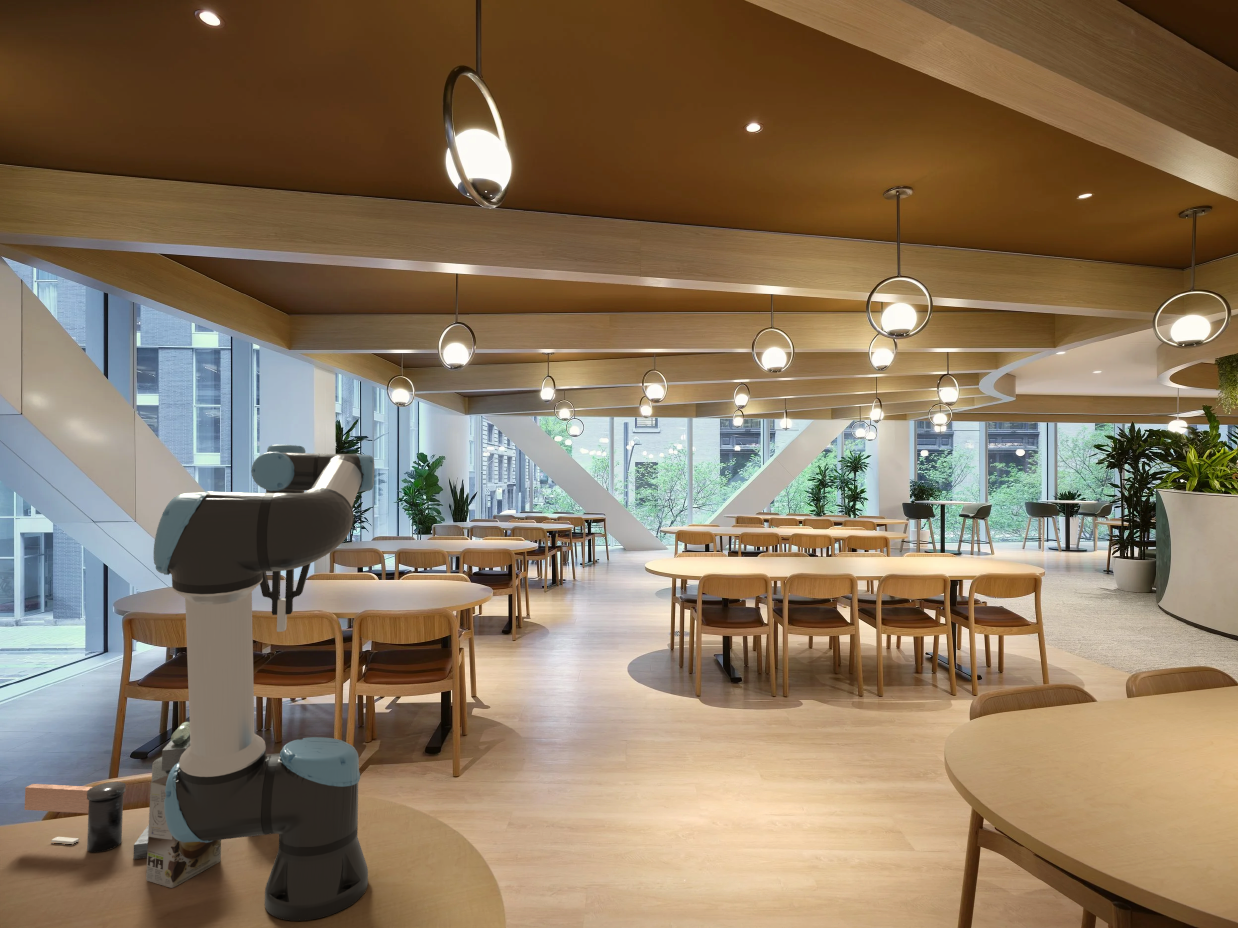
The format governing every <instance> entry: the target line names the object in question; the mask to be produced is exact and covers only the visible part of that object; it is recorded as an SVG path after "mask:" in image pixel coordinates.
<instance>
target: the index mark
mask: <svg viewBox="0 0 1238 928" xmlns="http://www.w3.org/2000/svg"><path fill="white" fill-rule="evenodd" d="M50 841H51V842H56V843H65V844H74V843H76V842H78V841H79V842H80V838H77V837H67V836H56V837H54V838H52V839H51V840H50ZM51 842H50V843H51ZM79 842H78V843H79ZM65 844H64V845H65ZM76 844H77V843H76ZM74 845H75V844H74Z"/></svg>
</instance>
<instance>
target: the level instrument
mask: <svg viewBox="0 0 1238 928" xmlns="http://www.w3.org/2000/svg"><path fill="white" fill-rule="evenodd" d="M190 746H191V745H190V721H184V722H182V723H181V724H180V725H179V726H178V727H177V729H175V731H173V733H172V734H171V737H170V741H169V742H168V743H167V744H166V745H165V746H164V747H163V749H161V750H162V751H161V756H160V757H158V758H157V759H155V760H154V761H153V762H152V766H151V781H154V780H157V779H159V778H162V777H165V776H167V775H169V773H170V771H171V769H172V768H173V767H174V765H176V764H177V763H178V762H179V760H180V757H181V755H182V754H183V752H184V751H185V750H186V749H187V748H189V747H190ZM148 830H149V824H148V825H147V826H146V828H145V829H144V830H143V831H142V833H141V835H139V836H138V839H137V840H136V841H135V843H134V844H133V858H132V859H133V860H140V859H147V851H148Z"/></svg>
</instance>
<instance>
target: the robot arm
mask: <svg viewBox="0 0 1238 928" xmlns="http://www.w3.org/2000/svg"><path fill="white" fill-rule="evenodd" d="M252 463H253V464H252V465H251V470H250V473H251V476H252V479H253V481H254V482H255V484H256V485H257V486H258V487H260V488H262V489H264V490H265V492H240V491H239V492H237V491H235V492H234V491H231V492H230V491H212V490H208V491H205V492H204V491H203V492H185V493H181V494H178V495H175V496H173V498H172V499H171V500H170V501H169V502H168V504H167V505H166V506H165V508H164V509H163V512H162V514H161V516H160V519H159V522H158V525H157V528H156V533H155V537H154V541H153V542H154V543H153V563H154V565H155V569H156V571H157V573H160V574H163V575H164V576H166V575H167V576H169V575H171V585H172V591H174V592H175V593H177V594H178V595H179V596H180V597H183V598H184V600H185V601H184V602H185V605H184V606H185V626H186V627H185V629H186V631H185V632H186V655H187V656H186V658H187V680H188V681H187V682H188V683H187V686H188V711H189V712H188V713H189V722H190V745H191V746H190V747H189V748H187V749H186V750H185V751H184V752H183V754H182V755H181V757H180V760H179V762H178V763H177V764H176V765H174V767H173V768H172V769H171V771H170V773H169V776H168V779H167V782H166V788H165V793H166V798H165V799H164V811H165V818H166V823H167V826H168V829H169V831H170V833H171V835H172V836H173V837H174V838H175V839H176V840H178V841H181V842H205V843H207V842H212V841H213V840H221V841H222V840H230V839H239V838H247V837H248V838H249V837H256V836H266V835H274V834H278V850H277V852H276V853H277V854H276V856H275V859H274V861H273V862H274V863H273V865H272V867H271V871H270V873H269V877H268V880H267V881H266V885H265V887H264V888H265V889H264V890H265V891H264V907H265V908H264V909H265V910H266V912H267V913H268V914H270V915H271V916H273V917H275V918H277V919H281V920H285V921H294V922H295V921H303V922H304V921H311V920H316V919H322V918H326V917H328V916H331V915H334V914H337V913H339V912H341V911H343V910H345V909H347V908H348V907H351V906H352V905H353V904H355V903H356V902H357V901H358V900H360V899H361V898H362V896H363V895H364V894H365V893H366V891H367V889H368V885H369V869H368V868H369V867H368V866H367V861H366V859H365V855H364V852H363V848H362V846H361V843H360V840H359V837H358V834H359V832H358V830H359V827H358V825H359V820H358V819H359V782H360V780H361V773H360V766H359V764H360V762H359V760H360V759H359V753H358V751H357V750H356V748H355V747H354V746H353V745H352V744H350V743H348V742H346V741H344V740H341V739H338V738H333V737H326V736H325V737H323V736H318V737H317V736H314V737H303V738H301V739H294V740H292V741H291V740H290V741H289V742H287V743H286V744H285V745H284V746H282V749H281V750H280V752H279V753H267V751H266V750H267V749H266V748H267V747H266V742H265V739H263V737H261V736H259V735H258V734H256V733H255V697H254V696H255V695H254V693H255V691H254V687H255V685H254V684H255V683H254V648H253V647H254V639H253V593H252V592H253V591H254V590H255V589H256V588H257V587H258V586H260V590H261V595H262V597H263V598H267V599H270V600H271V615H272V616H276V617H277V618H276V632H277V633H278V632H279V633H280V632H281V633H282V632H285V631H286V630H287V627H288V626H287V625H288V622H287V621H288V615H292V612H293V611H294V610H293V609H294V608H293V607H294V598H297V597H299V596H301V595H302V594H303V591H304V589H305V588H304V587H305V584H306V581H307V577H308V573H309V570H310V567H311V564H313V563H314V562H316V561H319V560H320V559H322V558H323V557H326V556H327V555H329V554H330V553H331V552H333V551H335V549H337V548H338V547H340V545H341V544H343V542H344V541H345V539H346V538H347V537H348V536H349V533H350V532H351V529H352V527H353V524H354V516H355V515H354V510H353V506H354V502H355V500H356V497H357V494H358V493H361V492H369V491H370V492H371V491H372V490H373V489H374V485H375V459H374V457H373V456H372V455H369V454H362V453H361V454H360V453H314V452H313V453H311V452H310V453H309V452H306V448H305V447H304V446H301V445H296V444H295V445H293V444H271V445H269V446H268V447H267V450H266V452H264V453H261V454H260V455H259V456H258V457H257V458H255V460H254V461H253V462H252ZM298 568H301V570H300V573H299V578H298V581H297V583H296V587H295V586H294V582H295V581H294V580H295V578H294V574H295V569H298ZM282 571H283V572H285V597H284V598H282V597H281V576H282V575H281V573H282ZM267 572H272V575H271V576H272V580H271V581H272V582H271V588H270V583H269V580H268V575H267ZM294 587H295V590H294Z"/></svg>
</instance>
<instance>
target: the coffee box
mask: <svg viewBox="0 0 1238 928" xmlns="http://www.w3.org/2000/svg"><path fill="white" fill-rule="evenodd" d="M168 776H169V775H167V776H165V777H162V778H159V779H157V780H154V781H152V780H151V781H150V790H149V791H150V792H149V794H150V795H149V809H148V810H149V813H148V825H149V830H148V851H147V858H146V875H145V880H146V881H147V882H151V883H153V884H158V885H161V886H163V887H167V888H169V889H173V888H176V887H177V886H179V885H180V884H182V883H184V882H186V881H188V880H189V879H192V878H194V877H195V876H197V875H199V874H201V873H202V872H204V871H206V870H208V869H210V868H211V867H213V866H214V865H217V864H218V863H220V862H221V858H222V857H221V855H222V853H221V851H222V850H221V849H222V840H213V841H212V842H207V843H205V842H181V841H178V840H176V839H175V838H174V837H173V836H172V835H171V833H170V831H169V829H168V826H167V823H166V818H165V811H164V799H165V798H166V793H165V788H166V782H167V779H168Z"/></svg>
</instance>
